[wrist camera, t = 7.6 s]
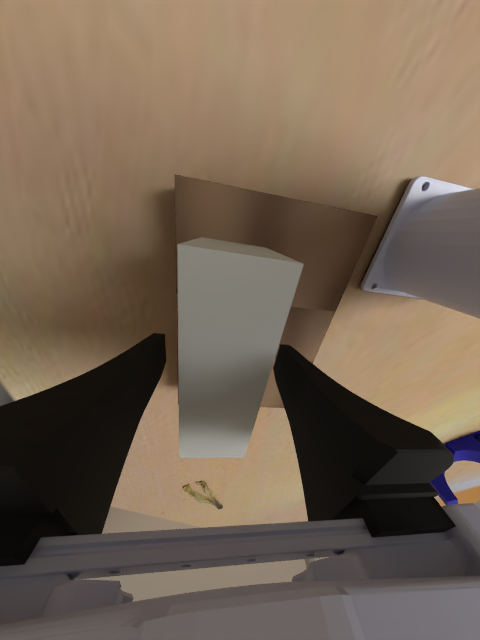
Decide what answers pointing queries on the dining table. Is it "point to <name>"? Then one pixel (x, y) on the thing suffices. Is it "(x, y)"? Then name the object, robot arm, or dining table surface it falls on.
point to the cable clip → (463, 448)
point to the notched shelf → (280, 250)
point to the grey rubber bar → (227, 340)
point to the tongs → (200, 497)
